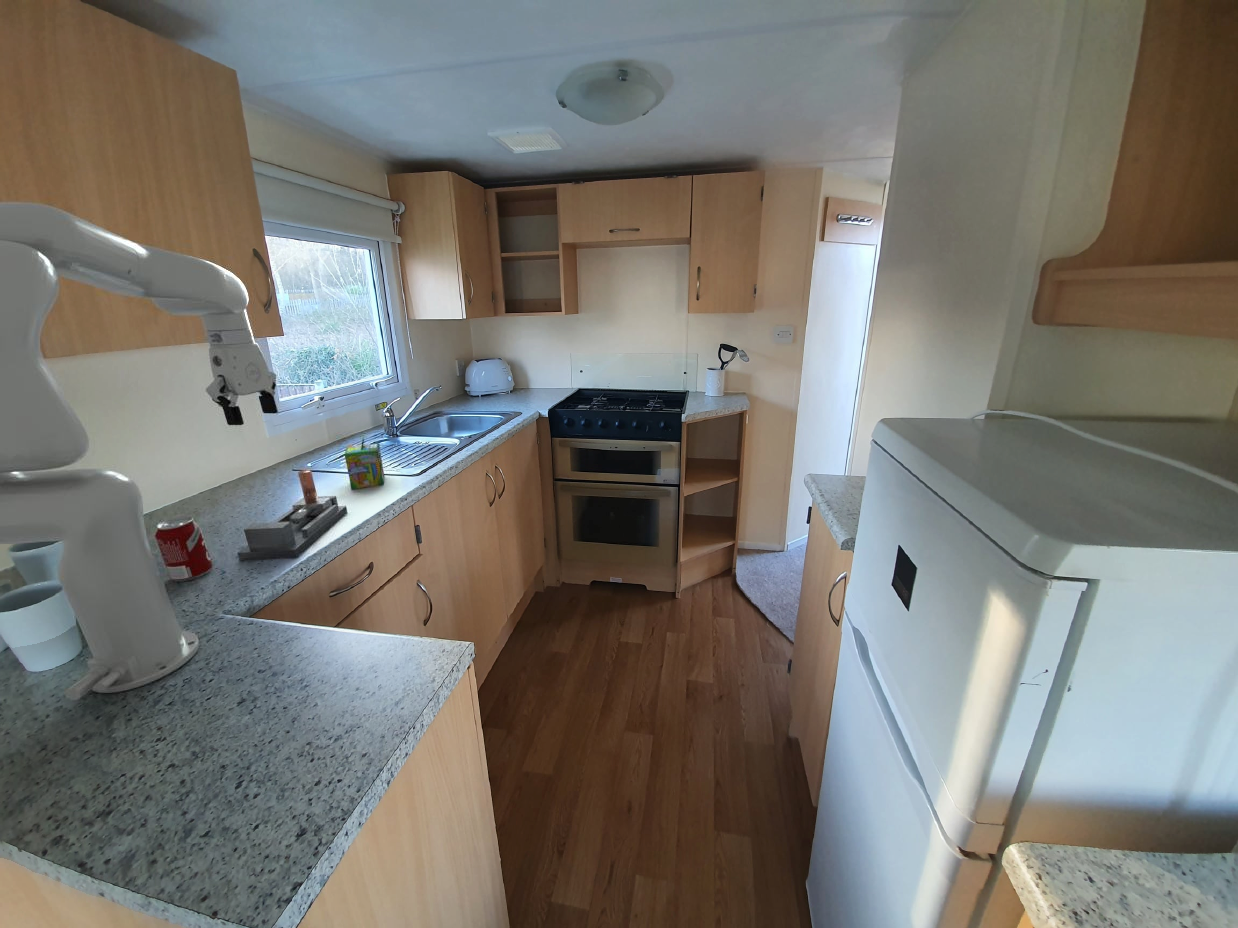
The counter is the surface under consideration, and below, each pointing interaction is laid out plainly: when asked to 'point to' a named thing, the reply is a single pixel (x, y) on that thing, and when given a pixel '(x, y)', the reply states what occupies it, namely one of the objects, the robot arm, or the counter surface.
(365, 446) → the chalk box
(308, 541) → the base
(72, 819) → the counter surface
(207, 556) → the soda can
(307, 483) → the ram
